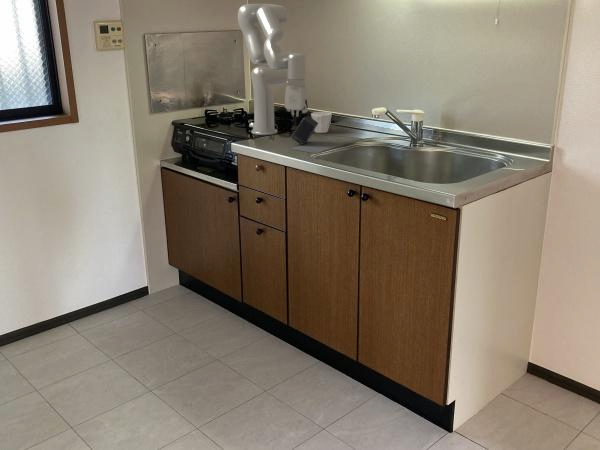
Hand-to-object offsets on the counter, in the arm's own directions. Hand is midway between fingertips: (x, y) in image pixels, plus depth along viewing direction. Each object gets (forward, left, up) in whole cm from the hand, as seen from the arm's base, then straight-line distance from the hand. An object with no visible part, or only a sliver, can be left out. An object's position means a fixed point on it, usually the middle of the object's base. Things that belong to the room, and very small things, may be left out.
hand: (297, 125), depth 277 cm
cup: (-7, +28, -9) cm, 30 cm away
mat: (+11, 0, -8) cm, 14 cm away
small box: (+1, 0, -7) cm, 7 cm away
